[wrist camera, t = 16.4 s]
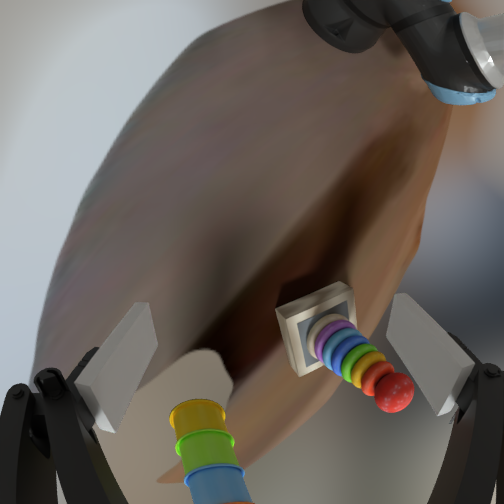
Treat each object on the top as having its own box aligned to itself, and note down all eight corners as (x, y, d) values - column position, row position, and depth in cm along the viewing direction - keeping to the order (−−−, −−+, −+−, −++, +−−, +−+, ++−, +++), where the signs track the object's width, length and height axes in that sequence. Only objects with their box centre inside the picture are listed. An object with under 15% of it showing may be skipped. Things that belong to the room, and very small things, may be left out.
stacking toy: (299, 357, 41) (369, 436, 23) (310, 312, 39) (397, 382, 22) (339, 353, 43) (411, 417, 26) (351, 311, 42) (437, 367, 24)
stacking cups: (234, 404, 44) (318, 570, 12) (210, 437, 45) (269, 587, 12) (181, 390, 41) (237, 590, 8) (161, 426, 41) (197, 597, 9)
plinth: (339, 280, 45) (353, 288, 41) (345, 336, 48) (358, 346, 45) (275, 308, 42) (285, 319, 38) (289, 364, 46) (299, 377, 42)
